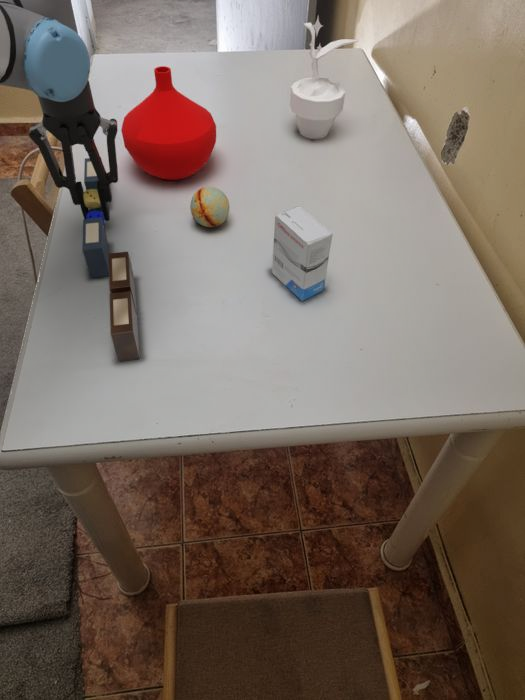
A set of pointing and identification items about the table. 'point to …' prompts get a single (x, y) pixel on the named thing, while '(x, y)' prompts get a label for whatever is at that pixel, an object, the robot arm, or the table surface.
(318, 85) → the potted plant
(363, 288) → the table surface
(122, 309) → the brown paneled block
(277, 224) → the ink box
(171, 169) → the vase
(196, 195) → the ball
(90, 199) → the dice
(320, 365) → the table surface
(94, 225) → the blue block
